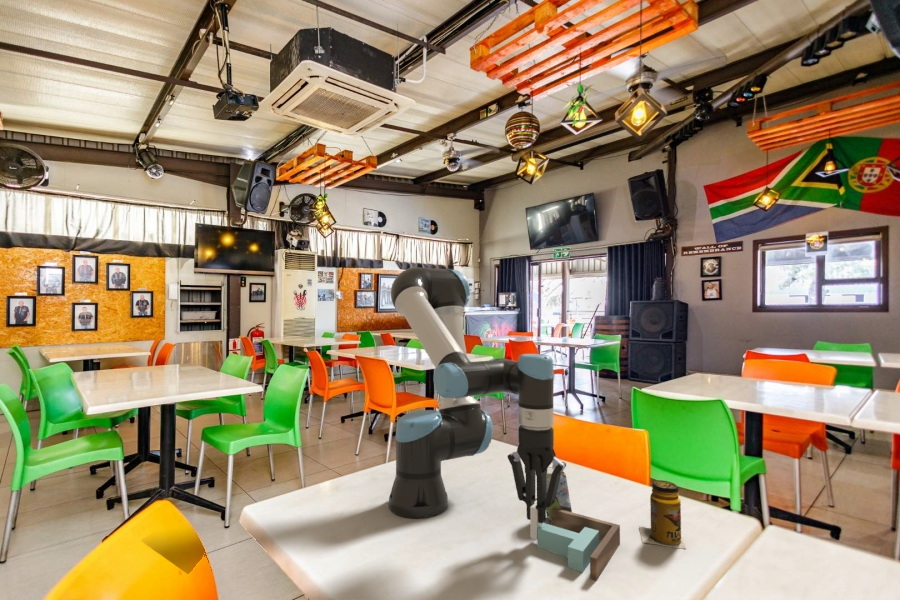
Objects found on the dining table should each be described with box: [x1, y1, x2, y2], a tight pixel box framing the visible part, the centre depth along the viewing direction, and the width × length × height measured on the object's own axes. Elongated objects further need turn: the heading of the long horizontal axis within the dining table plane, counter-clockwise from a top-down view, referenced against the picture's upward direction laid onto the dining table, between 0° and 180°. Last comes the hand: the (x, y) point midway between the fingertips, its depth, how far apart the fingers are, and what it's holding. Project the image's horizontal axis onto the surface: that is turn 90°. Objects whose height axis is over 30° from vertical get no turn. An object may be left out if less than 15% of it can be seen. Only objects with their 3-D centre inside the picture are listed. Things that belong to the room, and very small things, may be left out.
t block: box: [536, 522, 600, 573], centre depth 93 cm, size 11×10×4 cm
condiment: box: [638, 479, 686, 550], centre depth 99 cm, size 7×8×12 cm
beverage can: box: [546, 466, 573, 522], centre depth 108 cm, size 6×7×12 cm
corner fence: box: [551, 508, 621, 582], centre depth 94 cm, size 15×16×4 cm
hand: (536, 535), depth 96 cm, fingers closed
